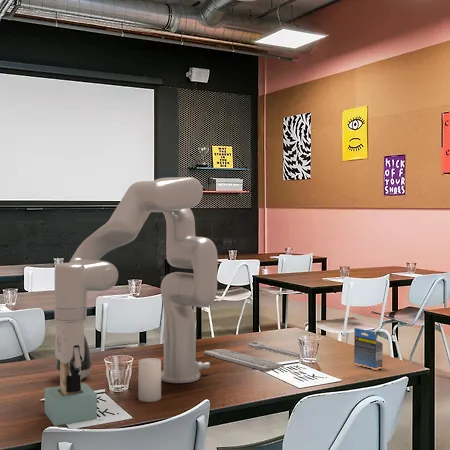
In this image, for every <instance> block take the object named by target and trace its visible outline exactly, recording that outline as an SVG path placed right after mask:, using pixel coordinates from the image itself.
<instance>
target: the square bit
mask: <svg viewBox="0 0 450 450" xmlns="http://www.w3.org/2000/svg"><path fill="white" fill-rule="evenodd" d="M70 362H74V360H71V361H70ZM72 366H74V365H71V368H72ZM80 372H81V369H80ZM67 376H68V366H67V364H63V363H62V362H61V361H60V376H59V379H60V380H59V381H60V382H59V385H60V394H61V395H62V396H64V395H71V394H77V393H81V383H82V380H81V374H80V391H77V392H70V393H68V392H67Z"/></svg>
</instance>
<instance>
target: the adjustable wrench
mask: <svg viewBox="0 0 450 450" xmlns="http://www.w3.org/2000/svg"><path fill="white" fill-rule="evenodd" d="M255 344H256V345H255ZM248 346H249V347H251V348H250V349H252V348H255V349H254V350H262V349H266V350H265V351H267V350H269V351H268V352H271V351H273V352H272V353H275V352H276V353H275V354H278V353H280V354H279V355H282V354H284V355H283V356H286V355H289V356H288V357H290V356H294V357H299V358H300V354H301V353H299V352H295V351H291V350H288V349H282V348H279V347H275V346H272V345H268V344H266V343H265V342H262V341H255V340H254V341H251V342H250V343H249V342H248V343H247V347H248ZM249 347H248V348H249ZM257 348H258V349H257ZM294 357H293V358H294Z"/></svg>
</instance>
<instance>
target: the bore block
mask: <svg viewBox="0 0 450 450" xmlns="http://www.w3.org/2000/svg"><path fill="white" fill-rule="evenodd" d="M97 402H98V393H97V392H96V391H95V390H93V389H92V388H91V387H90V386H89V385H88V384H87V383H86V382H81V393H77V394H71V395H64V396H62V395H61V394H60V386H53V387H45V388H44V414H45V416H47V418H48V419H49V420H50V423H52V425H53V426H54V427H56V426H57V427H58V426H63V425H69V424H75V423H79V422H86V421H90V420H96V419H97V418H98V417H97V416H98V413H97V410H98V407H97V405H98V403H97Z"/></svg>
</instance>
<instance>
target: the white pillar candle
mask: <svg viewBox="0 0 450 450" xmlns="http://www.w3.org/2000/svg"><path fill="white" fill-rule="evenodd" d="M161 371H162V359H160V358H156V357H148V358H147V357H146V358H142V359H141V358H140V359H139V360H138V372H137V373H138V374H137V375H138V381H137V383H138V386H137V387H138V391H137V392H138V393H137V394H138V395H137V396H138V401H141V402H146V403H153V402H157V401H160V400H161V399H162V380H161Z"/></svg>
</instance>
